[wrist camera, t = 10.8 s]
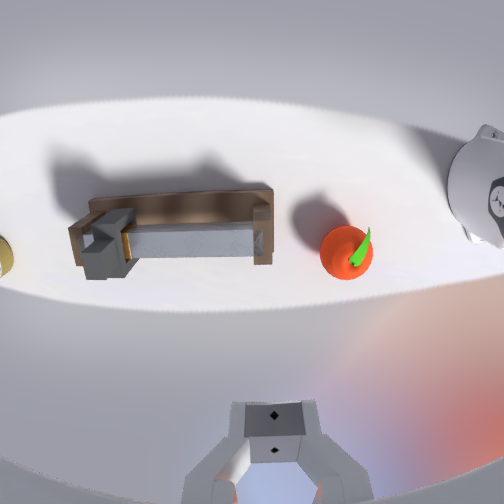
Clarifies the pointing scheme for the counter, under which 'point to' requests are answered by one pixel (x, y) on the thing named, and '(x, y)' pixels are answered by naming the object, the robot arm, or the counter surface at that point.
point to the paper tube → (5, 257)
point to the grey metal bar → (186, 240)
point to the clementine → (346, 252)
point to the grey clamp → (108, 247)
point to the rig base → (189, 213)
